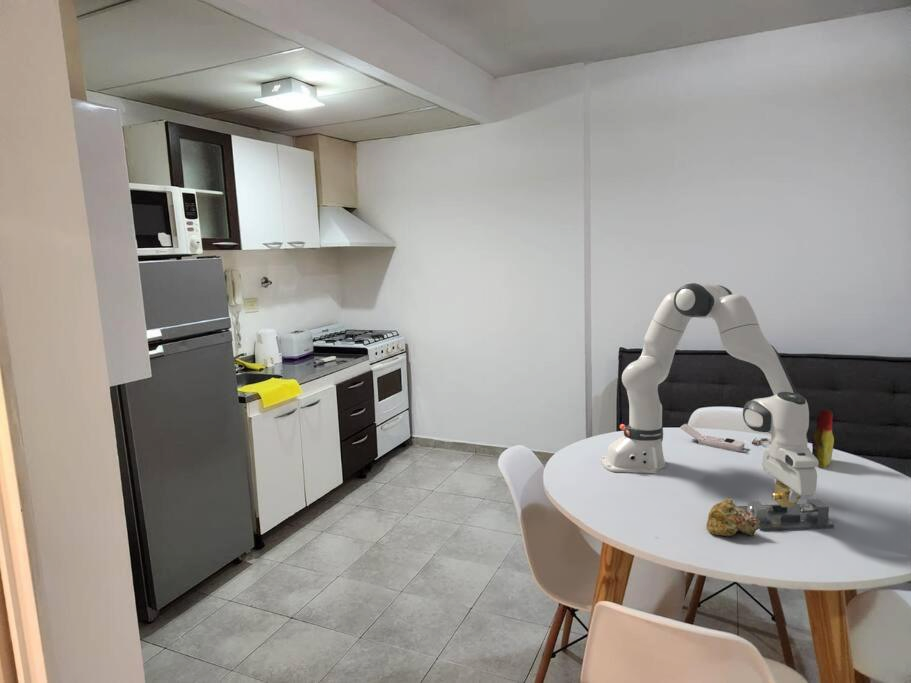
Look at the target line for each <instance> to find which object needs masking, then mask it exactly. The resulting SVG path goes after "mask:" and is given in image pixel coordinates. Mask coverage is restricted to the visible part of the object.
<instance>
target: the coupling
mask: <svg viewBox="0 0 911 683" xmlns="http://www.w3.org/2000/svg"><path fill="white" fill-rule="evenodd" d="M774 484H775V485H774V487H775V488H774V493H773V492H772V494H771V499H772V500H773V501H774V502H775V503H777V505H778V504H779V505H780V506H782V507H797V504H798V500H800V499H801V498H802V496H801V495H799V494H798V496H797V499H796V502H795V503H791V502H789V501H788V500H787V495H789V494H790V492H791V491H790V490H789V489H790V488H789V487H788V486H786V485H785V484H784V483H775V482H774Z"/></svg>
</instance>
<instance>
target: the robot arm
mask: <svg viewBox="0 0 911 683" xmlns="http://www.w3.org/2000/svg"><path fill="white" fill-rule="evenodd" d="M692 318H698V319H709V318H710V319H712V320H714V321H715V323H716V326H717V330H718V332H719V337H720V340H721V343H722V346H723V348H724V349H725V351H726V352H727V354H728V355H730V356H732V357H733V358H735V359H738V360H740V361H743V362H747V363H750V364H753V365H755V367H756V366H757V367H758V368H760V370H761V371H762V372H763V373H764V376H765V378H766V380H767V382H768V384H769V387H770V389H771V391H772V393H773V395H771V396H768V397H767V396H766V397H760V398H759V397H758V398H754V399H752V400H748V401H746V403H745V404H744V406H743V409H742V419H743V422H744V424H745V425H746V426H747V428H749V429H750V430H752V431H754V432H757V433H758V432H759V433H768V434H770V440H769V441H768V442H767V443H766V446H765V448H764V449H763V454H762V458H761V459H762V461H761V466H762V469H763V470H764V471H765V472H766V473H768V474H769V475H770V476H771V477H773V481H774V484H775V483H784V484H785V485H786V486H788V487H789V488H790V489H789V490H790V491H791V492H790V494H789V495H787V500H788V501H789V502H791V503H795V502H796V499H797V496H798V494H799V495H800V496H801V497H809V496H810V497H811V496H814V494H816V491H817V482H818V473H817V469H816V468H819V466H818V464H819V462H818V460H817V458H816V457H815V456H814V455H813V454H812V451H811V449H810V448H809V447H808V438H807V437H808V436H807V433H808V430H809V424H810V422H809V421H810V410H809V403H808V402H807V401H808V400H807V399H806V398H805V397H804V396H803V395H801V394H799V393H798V391H797V389H796V387H795V385H794V383H793V382H792V378H791V376H790V375H789V372H788V370H787V369H786V365H785V364H784V362H783V359H782V358H781V355H780V354H779V352H778V351H777V349H776V348H775V346H774V345H772V344H770V342H769V341H768V340H767V338H766V337H765V335H764V334H763V332H762V330H761V327H760V324H759V322H758V318H757V316H756V313H755V310H754V308H753V307H752V304H751V303H750V301H749V299H748V298H747V297H746V296H744V295H743V294H738V293H737V294H736V293H735V294H734V293H733V292H732V291H731V290H730V289H729V288H728V287H726V286H723V285H718V284H713V283H709V282H708V283H705V282H704V283H694V282H692V283H687V284H684V285H681V286H680V287H679V288H678V289H677V290H676V291H675V292H674V291H673V292H669V293H668V294H666V295H665V296H664V298H663V300H662V301H661V302H660V304H659V305H658V307H657V309H656V311H655V312H654V315H653V317H652V320H651V321H650V324H649V326H648V328H647V330H646V333H645V335H644V337H643V338H644V339H643V346H642V351H641V355H640V356H639V357H638V359H637V360H634V361H632V362H630V363H629V364H628V365H627V366H626V367H625V368H624V370H623V372H622V374H621V382H622V384H623V386H624V388H625V390H626V392H627V393H626V395H627V398H628V405H629V411H628V412H629V413H628V414H629V416H628V418H629V421H628V422H629V423H628V425H626V424H623V423H621V424H620V425H619V429H620V430H621V431H623V435H621V436H620V437H618V438H617V439H616V440H614V441H612V442H611V443H610V444H609V445H608V447H607V452H606V454H605V455H604V454H603V455H602V456H601V457H600V463H601V465H602V466H603V467H604V468H605V469H606V470H608V471H610V472H613V473H614V472H615V473H635V474H637V473H641V474H656V473H657V472H659V471H660V470H662V469H664V468H665V467H666V466H667V464H666V461H665V456H664V451H663V440H664V428H663V405H662V403H661V400H660V396H659V391H658V389H659V385H660V384H661V383H663V382H664V381H665V380H666V379H667V377H668V376H669V373H670V371H671V370H670V369H671V368H672V367H671V366H672V363H673V360H674V356H675V353H676V351H677V348H678V346H679V344H680V342H681V339H682V338H683V336H684V333H685V331H686V329H687V327H688V324H689V322H690V321H691V320H692ZM797 500H798V499H797Z"/></svg>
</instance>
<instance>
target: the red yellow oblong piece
mask: <svg viewBox="0 0 911 683" xmlns="http://www.w3.org/2000/svg"><path fill="white" fill-rule="evenodd" d="M833 417H834V413H833V412H832V411H831V410H830V409H828V408H821V409H820V410H819V411H818V416H817V419H816V420H817V421H816V431H814V434H813V436H812V443H811V444H812V446H811V448H812V451H811V452H812V454H813V455H814V456H815V457H816V458H817V460H818V462H819V464H818V468H825V467H827V466H829V465H830V463H831V461H832V457H833V451H834V445H835V438H834V437H835V436H834V434H833Z"/></svg>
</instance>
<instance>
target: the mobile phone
mask: <svg viewBox="0 0 911 683" xmlns="http://www.w3.org/2000/svg"><path fill="white" fill-rule="evenodd" d="M679 428H680V429H681V430H682V431H684V432H685V433H687V434H688V435H689V436H691V437H693V438H694V439H695V440H696V441H698V444H699V445H701V446H707V447H712V448H715V447H716V448H715V449H720V448H721V450H726V451H731V450H732V451H731V452H739V453H747V452H748V451H747V450H746V449H744V448H745V442H744V441H742V440H741V441H740V440H737V439H734V438H728V437H727V438H724V437H718V436H712V435H705V434H701V433H700V432H699V431H698V430H695V429H694V428H693V427H692V426H690V425H689V424H687V423H684V424H682V425H681V426H680V427H679Z"/></svg>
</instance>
